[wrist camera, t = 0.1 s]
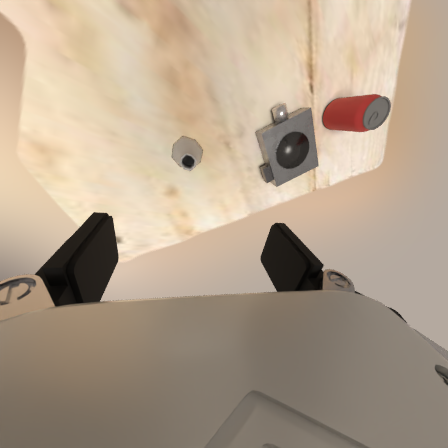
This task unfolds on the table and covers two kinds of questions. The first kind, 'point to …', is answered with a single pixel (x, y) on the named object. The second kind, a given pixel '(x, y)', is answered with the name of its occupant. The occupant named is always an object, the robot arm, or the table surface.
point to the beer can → (357, 113)
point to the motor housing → (287, 145)
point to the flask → (187, 153)
